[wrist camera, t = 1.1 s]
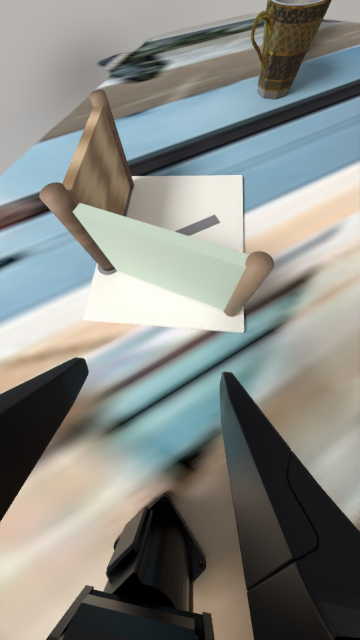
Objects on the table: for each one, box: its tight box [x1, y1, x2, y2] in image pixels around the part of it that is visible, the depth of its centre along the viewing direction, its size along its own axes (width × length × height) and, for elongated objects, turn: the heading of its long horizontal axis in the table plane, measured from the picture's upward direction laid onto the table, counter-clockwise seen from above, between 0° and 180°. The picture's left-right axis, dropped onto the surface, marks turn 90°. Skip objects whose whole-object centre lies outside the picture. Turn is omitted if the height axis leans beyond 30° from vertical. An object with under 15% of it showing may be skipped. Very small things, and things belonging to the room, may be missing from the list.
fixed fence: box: [40, 90, 134, 271], centre depth 23 cm, size 19×2×11 cm, turn 175°
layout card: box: [82, 175, 244, 333], centre depth 27 cm, size 28×22×1 cm
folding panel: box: [73, 203, 274, 317], centre depth 19 cm, size 18×2×10 cm, turn 66°
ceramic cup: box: [251, 0, 331, 99], centre depth 32 cm, size 13×10×10 cm
